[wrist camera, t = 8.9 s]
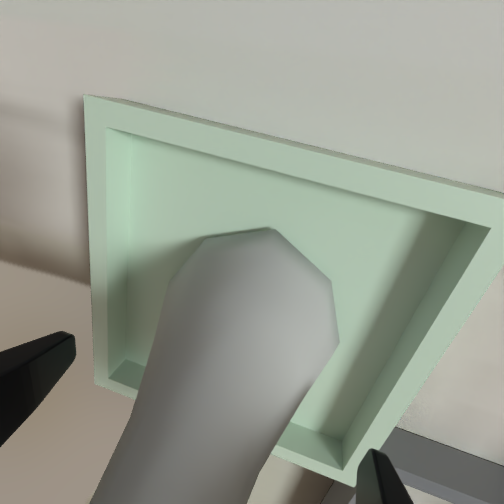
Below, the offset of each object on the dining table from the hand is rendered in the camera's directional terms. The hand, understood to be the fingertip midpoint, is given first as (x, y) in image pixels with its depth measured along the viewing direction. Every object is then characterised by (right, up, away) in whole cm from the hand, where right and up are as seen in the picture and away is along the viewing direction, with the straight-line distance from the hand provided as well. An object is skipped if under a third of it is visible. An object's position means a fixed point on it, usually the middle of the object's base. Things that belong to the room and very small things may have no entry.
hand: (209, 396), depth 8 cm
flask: (+1, +2, +5) cm, 5 cm away
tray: (+1, +2, +5) cm, 5 cm away
